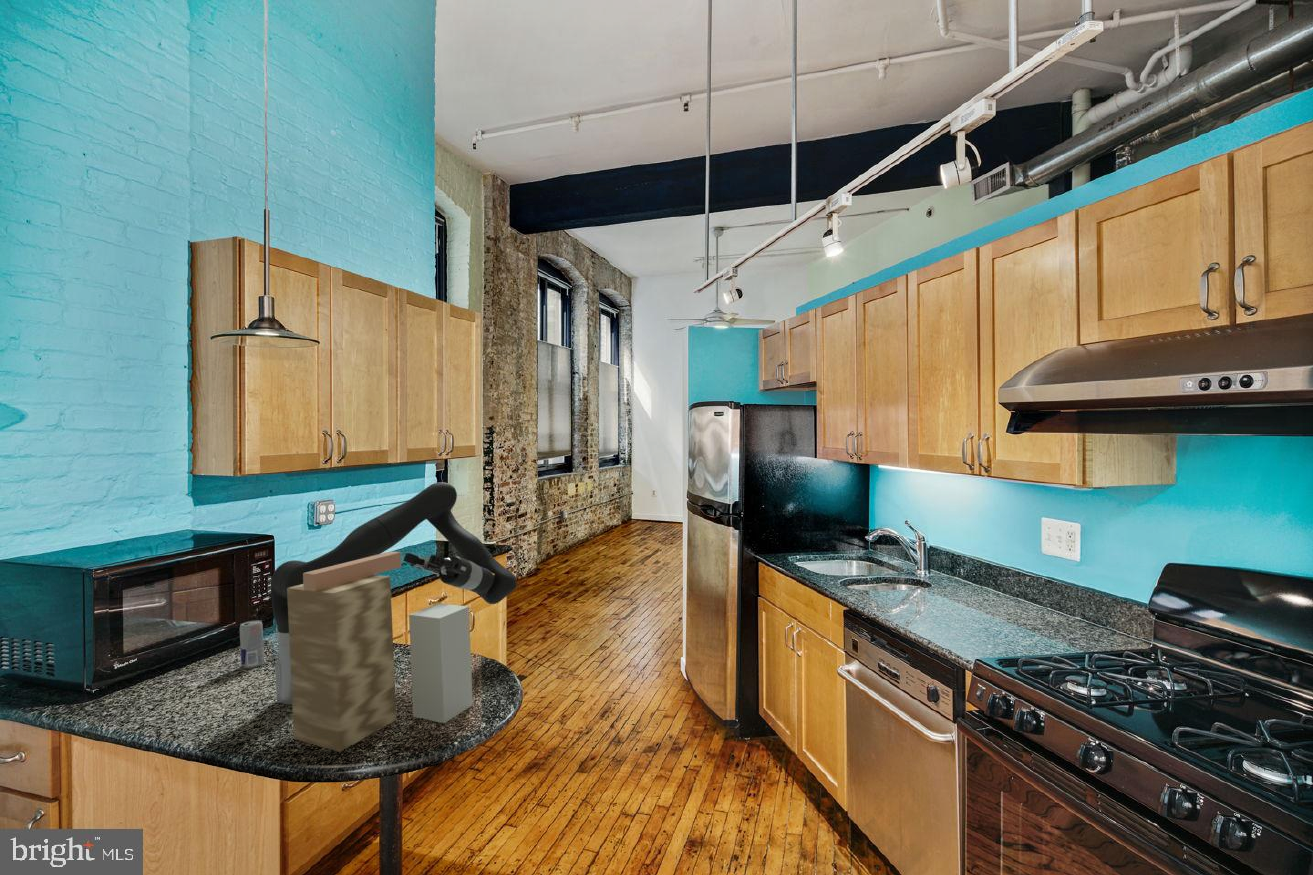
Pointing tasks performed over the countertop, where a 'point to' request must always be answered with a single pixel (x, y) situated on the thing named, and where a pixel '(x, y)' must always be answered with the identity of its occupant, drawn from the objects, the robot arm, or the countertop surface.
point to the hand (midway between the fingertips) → (418, 557)
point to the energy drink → (251, 644)
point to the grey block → (440, 662)
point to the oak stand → (341, 661)
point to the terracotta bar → (351, 571)
